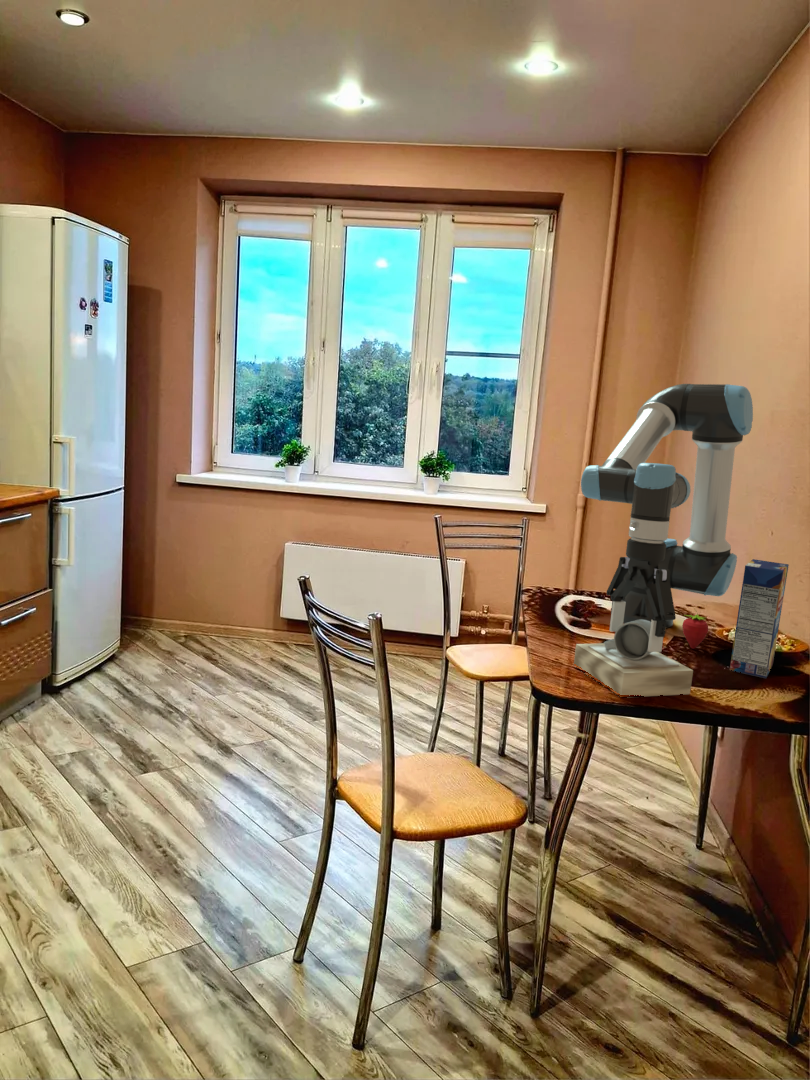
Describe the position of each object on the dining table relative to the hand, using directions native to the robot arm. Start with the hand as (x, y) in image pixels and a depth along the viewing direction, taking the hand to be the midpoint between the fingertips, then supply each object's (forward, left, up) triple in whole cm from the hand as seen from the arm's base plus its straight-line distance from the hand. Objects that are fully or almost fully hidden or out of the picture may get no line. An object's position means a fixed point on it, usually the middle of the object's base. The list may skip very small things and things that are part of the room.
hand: (634, 640), depth 149 cm
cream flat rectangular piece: (0, 0, -8) cm, 8 cm away
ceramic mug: (0, -1, -3) cm, 3 cm away
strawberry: (-18, +30, -9) cm, 36 cm away
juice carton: (-4, +35, -9) cm, 36 cm away
